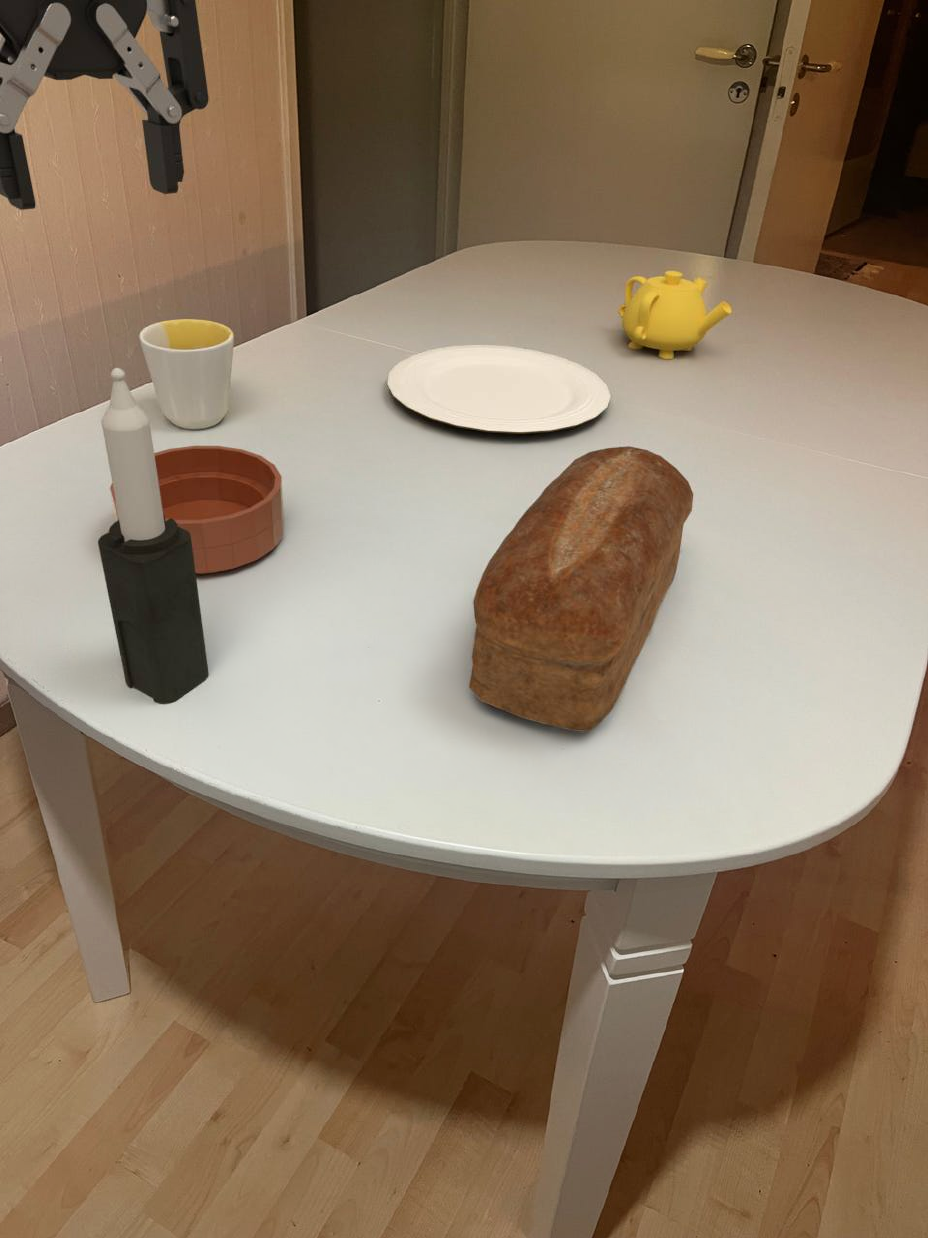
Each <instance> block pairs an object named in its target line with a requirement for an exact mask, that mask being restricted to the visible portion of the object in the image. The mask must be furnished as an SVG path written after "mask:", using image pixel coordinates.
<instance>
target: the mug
mask: <svg viewBox="0 0 928 1238" xmlns="http://www.w3.org/2000/svg"><path fill="white" fill-rule="evenodd" d="M138 338H139V342H140V345H141V349H142V352H143V355H144V359H145V362H146V365H147V369H148V371H149V375H150V378H151V380H152V381H151V382H152V385H153V388H154V392H155V396H156V398H157V402H158V405H159V408H160V411H161V413H162V415H163V416H164V417H166V419H168V420H169V421H170V422H171V423H172V424H174V426H176V427H178V428H182V429H185V430H203V429H207V428H211V427H214V426H216V425H218V424H219V423H220V422H221V421H222V419H223V418H224V417H225V416H226V415H227V413H229V412H228V411H229V409H230V399H231V398H230V397H231V383H232V382H231V381H232V369H233V358H234V346H235V345H234V344H235V343H234V342H235V335H234V332H233V330H232V328H230V327H228V326H227V325H225V324H222V323H219V322H216V321H211V320H206V319H195V318H194V319H193V318H191V319H190V318H184V319H183V318H182V319H170V320H164V321H160V322H159V321H158V322H155V323H152V324H150V325H148V326H146V327H144V328H142V330H141V331H140V333H139V337H138Z"/></svg>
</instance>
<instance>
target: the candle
mask: <svg viewBox="0 0 928 1238" xmlns="http://www.w3.org/2000/svg"><path fill="white" fill-rule="evenodd" d="M110 377H111V379H112V387H111V394H110V398H109V399H110V400H109V405H108V407H107V409H106V411H105V412H104V415H103V417H102V419H101V427H102V433H103V438H104V445H105V450H106V455H107V461H108V467H109V472H110V477H111V481H112V482H111V484H112V483H113V489H114V494H115V500H116V505H117V511H118V516H119V520H118V521H116V520H115V522H113V523H112V525H111V526H109V529H108V531H107V532H106V533H104V534H103V535H101V536H100V537H99V538H98V540H97V545H98V551H99V556H100V561H101V567H102V570H103V575H104V580H105V585H106V590H107V595H108V600H109V606H110V610H111V615H112V620H113V626H114V631H115V637H116V640H117V646H118V650H119V656H120V660H121V666H122V671H123V675H124V681H125V684H126V686H127V687H129V688H130V689H133V688H134V689H136V690H137V691H139V692H141V693H143V694H144V695H146V696H149V697H150V698H152V699H153V701H154V702H155V703H158V704H170V703H174V702H176V701H177V700H179V699H180V698H182V697H183V696H185V695H186V694H188V693H189V692H190V691H193V689H195V688H196V687H197V686H199V685H200V684H202V683H203V682H205V681H206V680H207V679H208V677H209V666H208V660H207V657H208V656H207V651H206V642H205V635H204V628H203V619H202V611H201V604H200V596H199V595H200V594H199V589H198V581H197V574H196V572H195V564H194V557H193V549H192V541H191V535H190V533H189V532H188V531H187V530H185V529H182V528H180V527H178V526H177V523H176V522H175V521H174V520H173V519H172V518H171V519H169V520H167V521H165V515H163V510H162V503H161V496H160V490H159V483H158V476H157V469H156V462H155V456H154V453H155V449H154V443H153V437H152V430H151V422H150V418H149V416H148V414H147V413H146V412H145V411H144V410H143V409H142V408H141V407H140V406H139V405H138V403H136V400H135V398H134V397H133V394H132V392H131V391H130V388H129V386H128V384H127V382H126V380H125V378H126V373H125V371H124V370H123V369H122V368H120V367H114V368H113V369H112V371H111V372H110Z"/></svg>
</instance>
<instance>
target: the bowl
mask: <svg viewBox="0 0 928 1238" xmlns="http://www.w3.org/2000/svg"><path fill="white" fill-rule="evenodd" d="M154 456H155V462H156V469H157V476H158V483H159V490H160V496H161V503H162V510H163V515H165V521H167V520H169V519H171V518H172V519H173V520H174V521H175V522H176V523H177V526H178V527H180V528H182V529H185V530H187V531H188V532H189V533H190V535H191V541H192V549H193V557H194V564H195V572H196V575H205V574H213V573H214V574H215V573H221V572H225V571H230V570H233V569H236V568H239V567H241V566H244V565H247V564H250V563H252V562H255V561H257V560H259V559H261V558H262V557H263V556H265V555H267V554H268V553H269V552H271V551H273V550H274V549H275V548H276V547H277V545H278V544H279V542H280V541H281V540H282V538H283V537H284V533H285V532H284V531H285V511H284V510H285V509H284V495H283V493H284V492H283V479H282V478H283V477H282V474H281V473H280V471H279V470H278V468H277V467H276V465H275V464H274V463H272V462H271V461H269V460H268V459H267V458H266V457H264V456H262V455H261V454H257V453H254V452H251V451H249V450H245V449H243V448H235V447H229V446H223V445H190V446H189V445H188V446H182V447H173V448H167V449H163V450H160V451H156V452H154ZM109 490H110V497H111V502H112V508H113V512H114V513H113V514H114V518H115V522H116V521H118V520H119V516H118V511H117V505H116V500H115V494H114V489H113V483H112V482H111V485H110V487H109Z"/></svg>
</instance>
